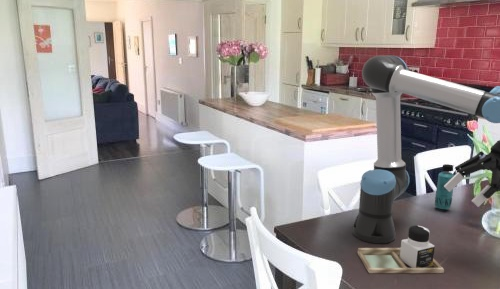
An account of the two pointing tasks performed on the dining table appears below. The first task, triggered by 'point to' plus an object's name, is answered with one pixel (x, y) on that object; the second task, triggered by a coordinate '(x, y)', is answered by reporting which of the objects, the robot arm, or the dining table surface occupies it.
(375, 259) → the wooden divided tray
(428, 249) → the medicine bottle
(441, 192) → the beverage bottle
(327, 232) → the dining table surface
